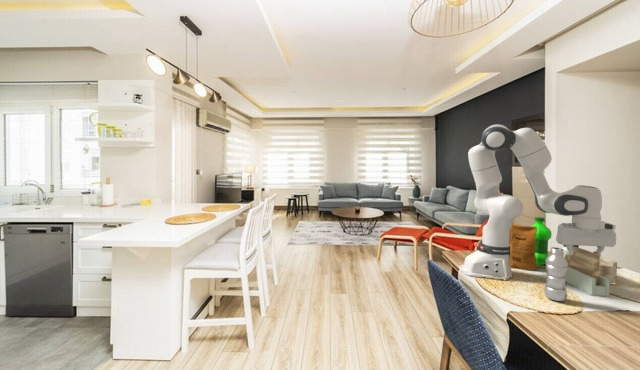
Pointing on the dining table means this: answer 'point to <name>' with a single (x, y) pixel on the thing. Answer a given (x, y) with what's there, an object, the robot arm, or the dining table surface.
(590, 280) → the stand
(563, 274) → the plastic bottle
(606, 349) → the dining table surface
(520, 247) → the coffee package
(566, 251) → the medicine bottle
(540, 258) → the plastic bottle
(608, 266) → the box
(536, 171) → the robot arm
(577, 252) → the light wood flat panel
